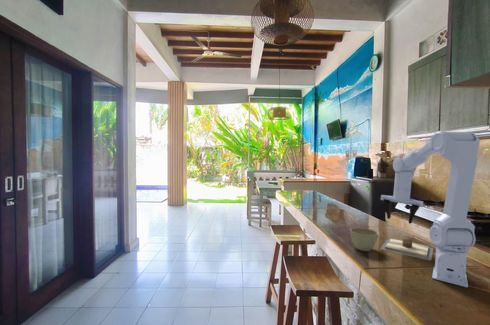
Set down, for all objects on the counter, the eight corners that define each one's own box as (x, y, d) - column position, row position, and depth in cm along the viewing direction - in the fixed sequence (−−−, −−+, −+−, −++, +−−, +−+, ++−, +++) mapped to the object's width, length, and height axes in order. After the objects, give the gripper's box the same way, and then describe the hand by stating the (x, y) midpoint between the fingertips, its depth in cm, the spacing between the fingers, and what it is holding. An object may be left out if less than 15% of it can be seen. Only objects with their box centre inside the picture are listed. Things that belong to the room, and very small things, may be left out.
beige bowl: (381, 255, 92) (382, 236, 92) (352, 252, 94) (353, 233, 94) (373, 246, 102) (374, 228, 102) (347, 243, 104) (347, 226, 104)
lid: (426, 258, 90) (426, 247, 90) (385, 248, 98) (385, 239, 98) (428, 248, 100) (429, 238, 100) (391, 240, 108) (391, 231, 108)
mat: (431, 261, 88) (431, 260, 88) (379, 249, 98) (379, 248, 98) (433, 249, 100) (433, 248, 100) (387, 239, 110) (387, 238, 110)
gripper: (425, 189, 100) (422, 222, 101) (385, 183, 110) (382, 214, 111) (422, 191, 95) (418, 227, 96) (380, 185, 105) (377, 217, 106)
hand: (399, 220), depth 103 cm, fingers open, 7 cm apart
